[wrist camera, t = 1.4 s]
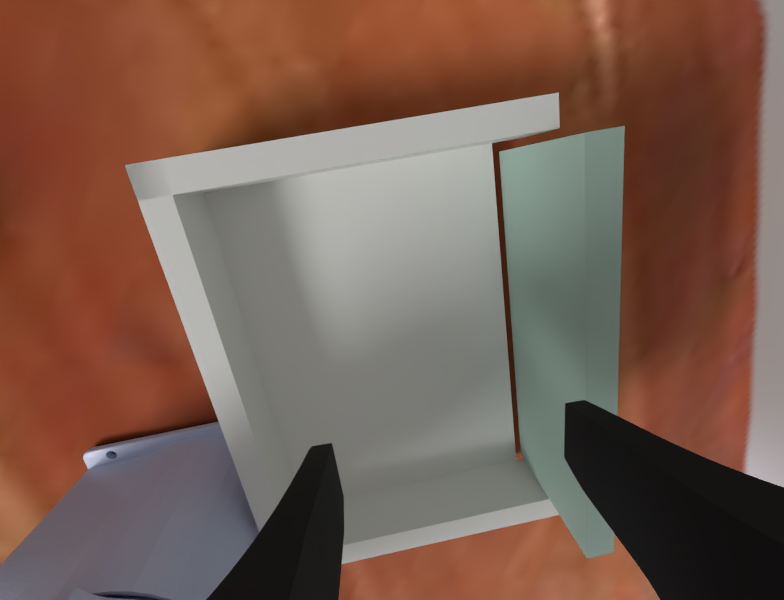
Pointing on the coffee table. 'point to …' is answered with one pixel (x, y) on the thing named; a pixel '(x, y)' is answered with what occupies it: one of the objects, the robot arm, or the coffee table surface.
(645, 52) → the coffee table surface
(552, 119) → the grey open tray
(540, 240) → the panel
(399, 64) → the coffee table surface
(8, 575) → the robot arm
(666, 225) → the coffee table surface
